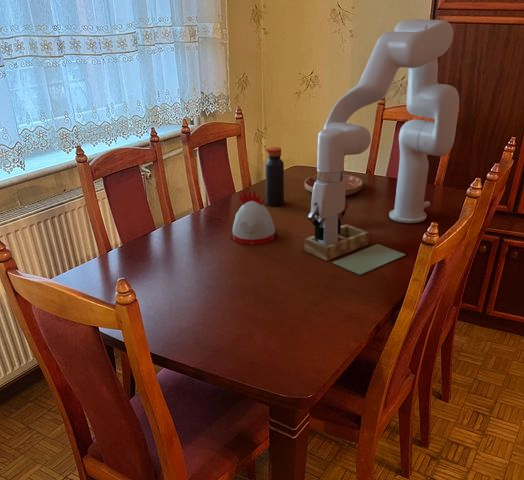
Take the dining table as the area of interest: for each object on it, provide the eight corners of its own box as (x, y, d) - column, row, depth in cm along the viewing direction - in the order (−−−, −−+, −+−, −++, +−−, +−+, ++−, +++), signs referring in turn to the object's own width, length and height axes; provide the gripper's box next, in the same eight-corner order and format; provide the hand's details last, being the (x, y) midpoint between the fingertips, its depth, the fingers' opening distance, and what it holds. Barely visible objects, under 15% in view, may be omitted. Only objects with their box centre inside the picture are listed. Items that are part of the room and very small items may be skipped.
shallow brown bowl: (300, 183, 224) (300, 174, 222) (354, 180, 226) (354, 171, 224) (310, 201, 205) (310, 191, 203) (369, 197, 207) (369, 188, 205)
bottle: (287, 202, 205) (287, 147, 194) (278, 207, 200) (277, 151, 189) (271, 199, 208) (271, 145, 197) (262, 204, 203) (261, 149, 192)
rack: (345, 235, 176) (346, 224, 174) (368, 244, 170) (369, 232, 167) (304, 251, 167) (304, 238, 164) (326, 260, 160) (327, 248, 158)
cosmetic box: (337, 253, 164) (339, 215, 157) (324, 256, 163) (325, 217, 156) (328, 246, 169) (330, 208, 162) (315, 248, 168) (316, 210, 161)
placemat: (377, 244, 169) (377, 243, 169) (405, 255, 162) (406, 254, 162) (332, 263, 159) (332, 262, 159) (360, 275, 152) (360, 274, 151)
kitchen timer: (238, 227, 185) (236, 183, 176) (278, 229, 182) (277, 184, 174) (228, 243, 173) (225, 197, 165) (270, 245, 171) (269, 198, 162)
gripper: (341, 167, 160) (338, 225, 170) (298, 179, 151) (297, 240, 161) (360, 172, 155) (356, 232, 165) (317, 185, 146) (315, 247, 156)
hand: (327, 235), depth 163 cm, fingers open, 6 cm apart
